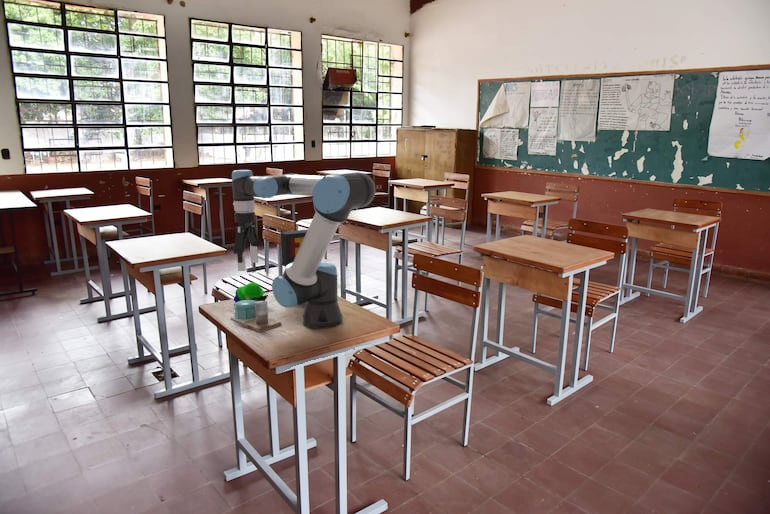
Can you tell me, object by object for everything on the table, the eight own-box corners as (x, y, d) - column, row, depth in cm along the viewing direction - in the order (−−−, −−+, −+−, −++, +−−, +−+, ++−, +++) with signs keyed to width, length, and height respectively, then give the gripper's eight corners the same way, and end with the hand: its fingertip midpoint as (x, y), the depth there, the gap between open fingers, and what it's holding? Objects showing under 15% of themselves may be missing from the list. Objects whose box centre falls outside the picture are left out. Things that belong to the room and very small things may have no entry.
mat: (263, 317, 211) (263, 315, 211) (244, 323, 204) (244, 321, 204) (249, 312, 217) (249, 310, 216) (230, 318, 210) (230, 316, 209)
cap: (255, 320, 205) (255, 307, 204) (229, 318, 207) (228, 305, 206) (263, 313, 213) (263, 300, 212) (238, 311, 215) (237, 299, 214)
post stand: (281, 324, 203) (280, 302, 201) (260, 332, 196) (258, 308, 194) (264, 319, 209) (263, 297, 207) (243, 326, 202) (241, 303, 200)
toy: (237, 316, 225) (249, 297, 215) (227, 294, 229) (238, 275, 219) (258, 311, 232) (270, 292, 222) (248, 290, 235) (259, 271, 225)
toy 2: (288, 304, 228) (285, 234, 221) (283, 300, 233) (280, 232, 226) (319, 299, 234) (317, 231, 227) (313, 295, 239) (311, 229, 232)
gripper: (247, 207, 215) (250, 259, 220) (221, 216, 191) (226, 274, 195) (265, 207, 214) (268, 259, 219) (241, 216, 190) (246, 274, 195)
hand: (248, 266), depth 207 cm, fingers open, 13 cm apart
